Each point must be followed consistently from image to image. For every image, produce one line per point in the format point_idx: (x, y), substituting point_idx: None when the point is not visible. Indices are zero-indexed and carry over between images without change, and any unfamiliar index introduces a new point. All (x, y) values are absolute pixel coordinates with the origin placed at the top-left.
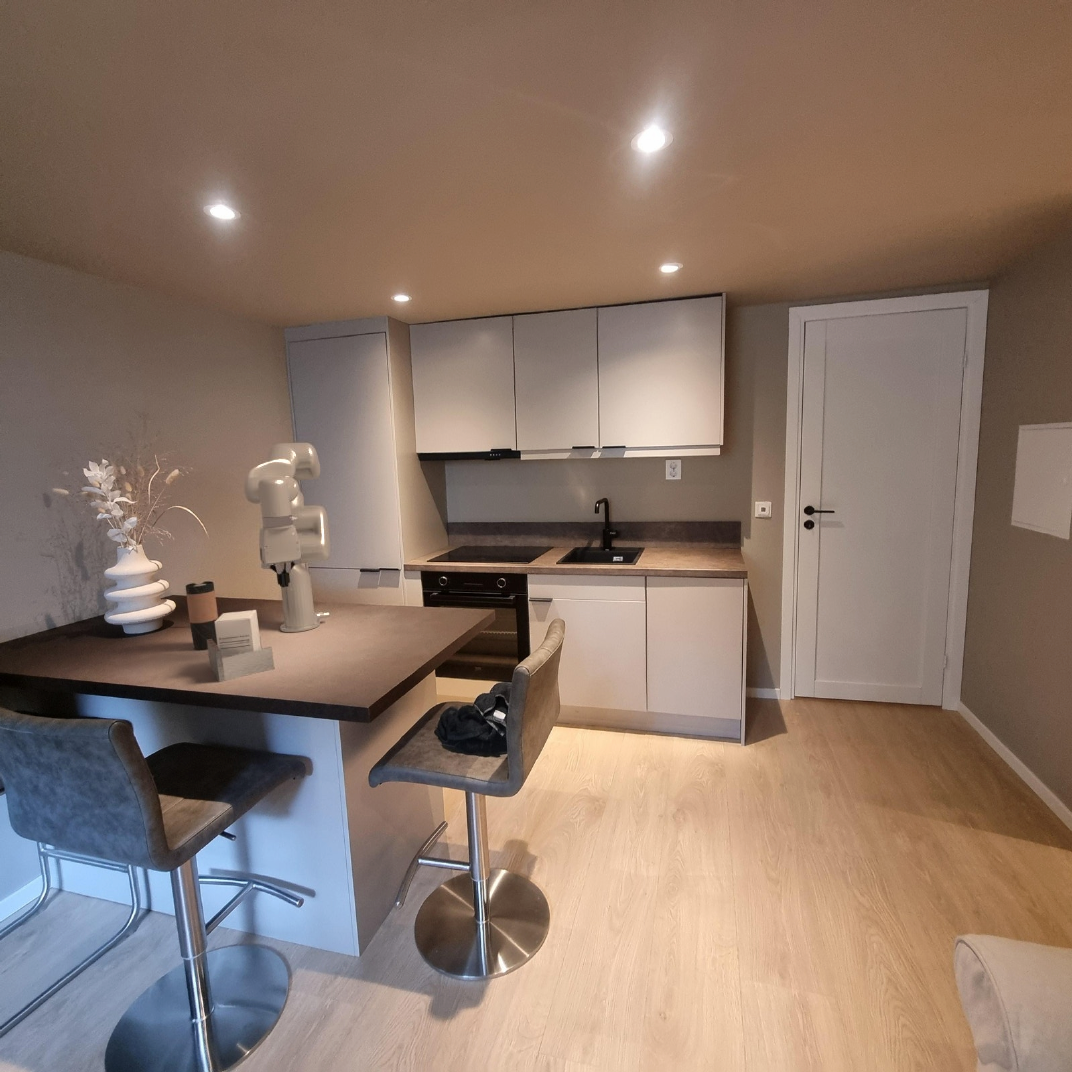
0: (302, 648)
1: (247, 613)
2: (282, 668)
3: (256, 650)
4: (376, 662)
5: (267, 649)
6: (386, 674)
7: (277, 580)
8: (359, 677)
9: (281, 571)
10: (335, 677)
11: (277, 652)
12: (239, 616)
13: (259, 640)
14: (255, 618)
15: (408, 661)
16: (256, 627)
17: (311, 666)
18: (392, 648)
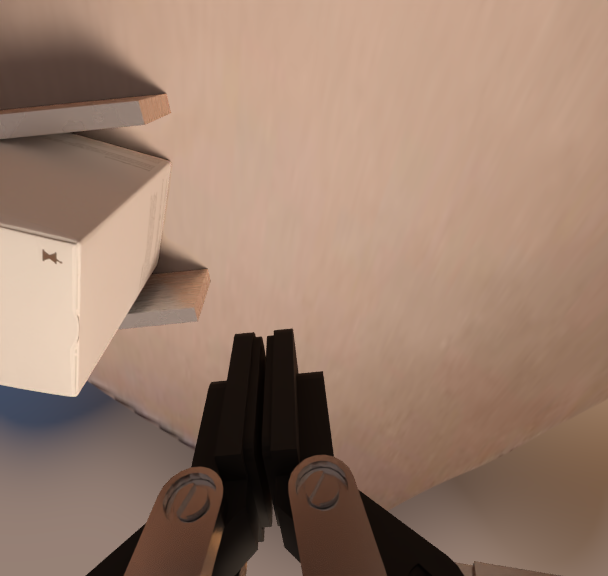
0: (331, 106)
1: (38, 314)
2: (234, 292)
3: (144, 323)
4: (453, 389)
5: (182, 320)
6: (429, 455)
7: (206, 407)
8: (380, 443)
9: (244, 570)
10: (339, 420)
11: (231, 88)
12: (3, 351)
13: (145, 199)
14: (97, 281)
15: (507, 419)
16: (117, 262)
17: (310, 324)
18: (548, 318)
